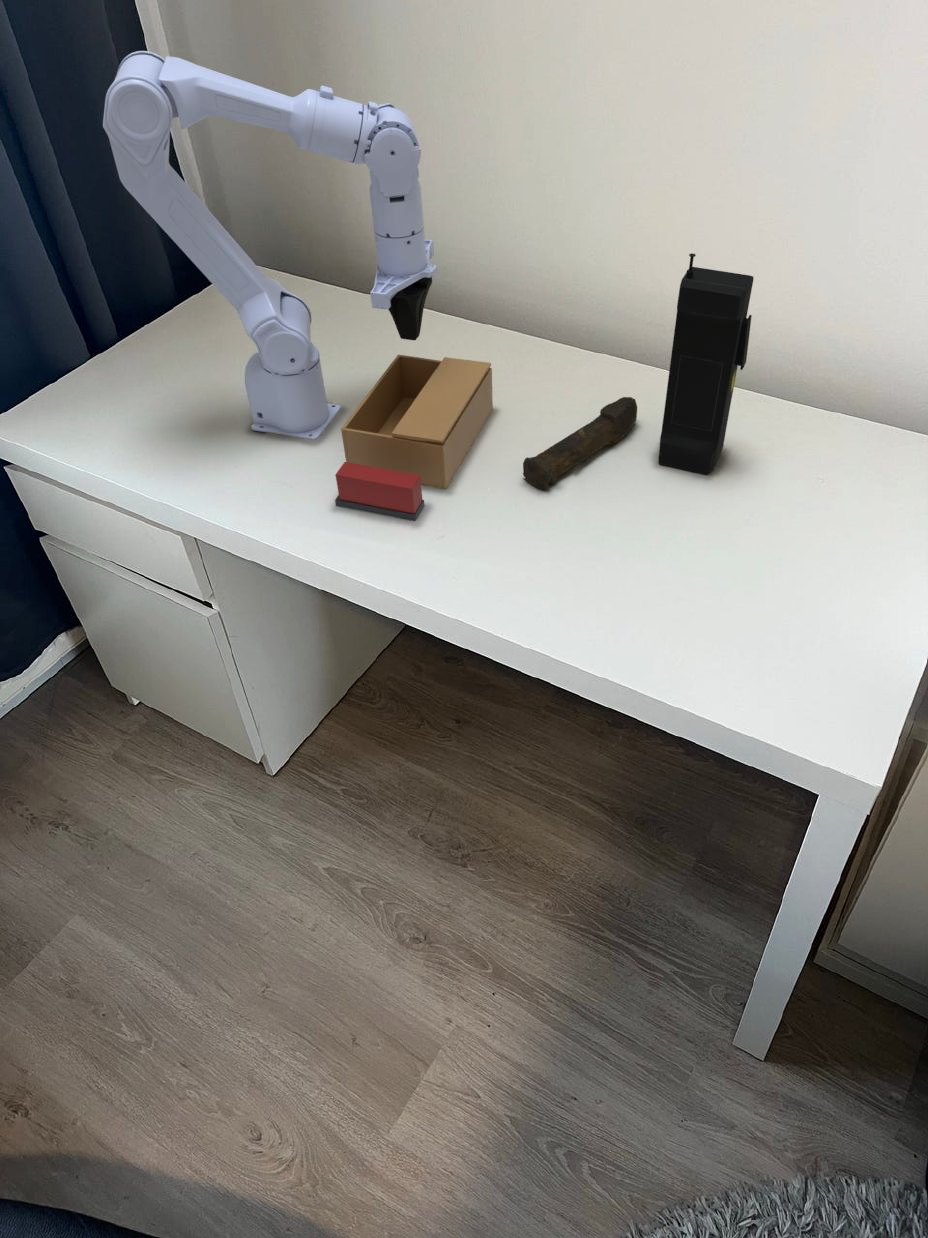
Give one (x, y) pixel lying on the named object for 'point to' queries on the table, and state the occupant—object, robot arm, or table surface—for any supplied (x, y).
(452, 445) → the carton
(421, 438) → the flap
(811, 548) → the table surface
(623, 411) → the brown rough bar
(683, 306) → the portable radio
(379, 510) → the stapler
